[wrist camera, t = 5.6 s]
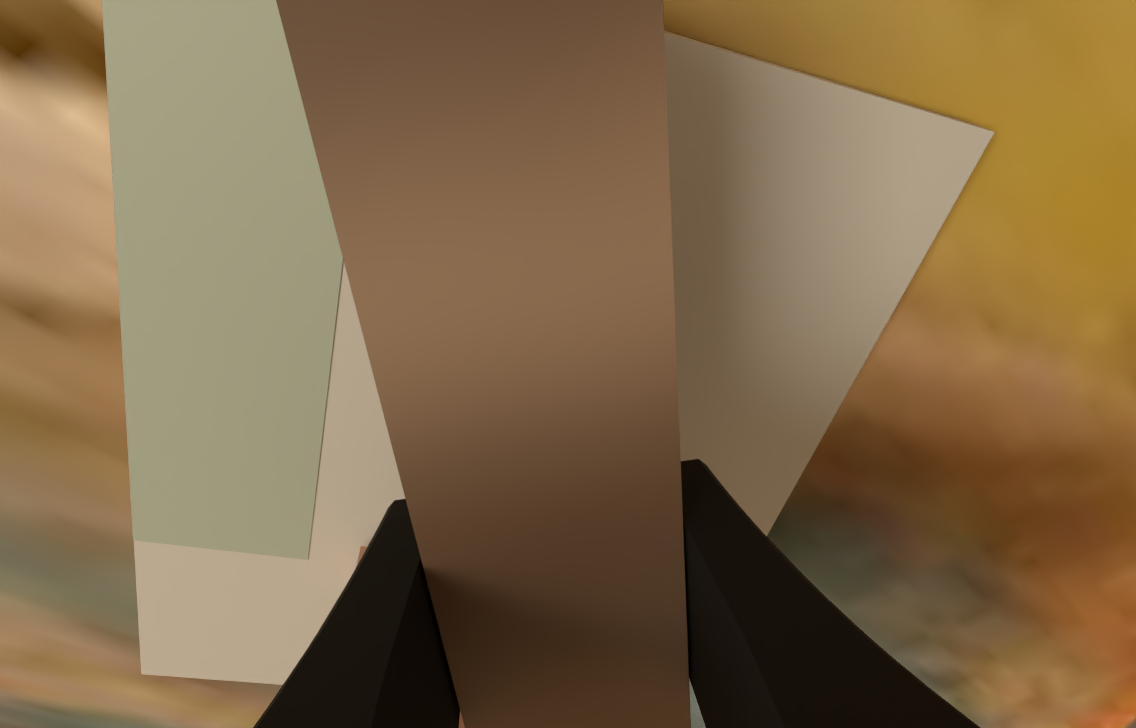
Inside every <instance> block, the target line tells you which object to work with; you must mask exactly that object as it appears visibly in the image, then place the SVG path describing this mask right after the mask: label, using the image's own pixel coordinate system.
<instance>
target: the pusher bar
mask: <svg viewBox="0 0 1136 728" xmlns="http://www.w3.org/2000/svg"><path fill="white" fill-rule="evenodd" d="M276 2H277V6H278V10H279V14H280V18H281V22H282V25H283V29H284V33H285V37H286V41H287V45H288V49H289V52H290V56H291V60H292V64H293V68H294V72H295V76H296V79H297V83H298V87H299V91H300V95H301V99H302V102H303V106H304V110H305V114H306V118H307V122H308V126H309V129H310V133H311V137H312V141H313V145H314V149H315V153H316V156H317V160H318V164H319V168H320V172H321V176H322V179H323V183H324V187H325V191H326V195H327V199H328V203H329V206H330V210H331V214H332V218H333V222H334V226H335V230H336V233H337V237H338V241H339V245H340V249H341V253H342V256H343V260H344V264H345V268H346V272H347V276H348V280H349V283H350V287H351V291H352V295H353V299H354V303H355V307H356V310H357V314H358V318H359V322H360V326H361V330H362V333H363V337H364V341H365V345H366V349H367V353H368V357H369V360H370V364H371V368H372V372H373V376H374V380H375V384H376V387H377V391H378V395H379V399H380V403H381V407H382V410H383V414H384V418H385V422H386V426H387V430H388V434H389V437H390V441H391V445H392V449H393V453H394V457H395V461H396V464H397V468H398V472H399V476H400V480H401V484H402V487H403V491H404V495H405V499H406V503H407V507H408V511H409V514H410V518H411V522H412V526H413V530H414V534H415V538H416V541H417V545H418V549H419V553H420V557H421V561H422V564H423V568H424V572H425V576H426V580H427V584H428V588H429V591H430V595H431V599H432V603H433V607H434V611H435V615H436V618H437V622H438V626H439V630H440V634H441V638H442V641H443V645H444V649H445V653H446V657H447V661H448V665H449V668H450V672H451V676H452V680H453V684H454V688H455V692H456V695H457V699H458V703H459V707H460V711H461V715H462V718H463V722H464V726H465V728H691V719H690V692H689V666H688V640H687V614H686V588H685V562H684V536H683V510H682V483H681V457H680V431H679V405H678V379H677V353H676V327H675V301H674V275H673V248H672V222H671V196H670V170H669V144H668V118H667V92H666V66H665V39H664V13H663V0H276Z"/></svg>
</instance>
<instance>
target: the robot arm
mask: <svg viewBox="0 0 1136 728" xmlns="http://www.w3.org/2000/svg"><path fill="white" fill-rule="evenodd" d="M681 483H682V510H683V536H684V562H685V588H686V614H687V640H688V666H689V678H690V681H691V684H692V687H693V690H694V693H695V696H696V699H697V702H698V705H699V708H700V711H701V714H702V717H703V720H704V723H705V726H706V728H980V727H979V726H978V725H976V724H975V723H974V722H972V721H971V720H970V719H968V718H967V717H966V716H965V715H963V714H962V713H961V712H959V711H958V710H957V709H956V708H954V707H953V706H952V705H950V704H949V703H948V702H947V701H945V700H944V699H943V698H941V697H940V696H939V695H938V694H936V693H935V692H934V691H933V690H931V689H930V688H929V687H928V686H926V685H925V684H924V683H923V682H921V681H920V680H919V679H918V678H917V677H915V676H914V675H913V674H912V673H911V672H909V671H908V670H907V669H906V668H905V667H903V666H902V665H901V664H900V663H898V662H897V661H896V660H895V659H894V658H892V657H891V656H890V655H889V654H888V653H887V652H886V651H884V650H883V649H882V648H881V647H880V646H879V645H877V644H876V643H875V642H874V641H873V640H872V639H871V638H870V637H868V636H867V635H866V634H865V633H864V632H863V631H862V630H861V629H859V628H858V627H857V626H856V625H855V624H854V623H853V622H852V621H851V620H850V619H849V618H848V617H847V616H845V615H844V614H843V613H842V612H841V611H840V610H839V609H838V608H837V607H836V606H835V605H834V604H833V603H832V602H830V601H829V600H828V599H827V598H826V597H825V596H824V595H823V594H822V593H821V592H820V591H819V590H818V589H817V588H816V587H815V586H814V585H813V584H812V583H811V582H810V581H809V580H808V579H807V578H806V577H805V576H804V575H803V574H802V573H801V572H800V571H799V570H798V569H797V568H796V567H795V566H794V565H793V564H792V563H791V562H790V561H789V559H788V558H787V557H786V556H785V555H784V554H783V553H782V552H781V551H780V550H779V549H778V548H777V547H776V546H775V545H774V544H773V543H772V542H771V541H770V540H769V538H768V537H767V536H766V535H765V534H764V533H763V532H762V531H761V530H760V529H759V528H758V526H757V525H756V524H755V523H754V522H753V521H752V520H751V518H750V517H749V516H748V515H747V514H746V513H745V512H744V510H743V509H742V508H741V507H740V506H739V505H738V503H737V502H736V501H735V500H734V499H733V498H732V496H731V495H730V494H729V493H728V492H727V490H726V489H725V488H724V487H723V485H722V484H721V483H720V482H719V480H718V479H717V478H716V477H715V475H714V474H713V473H712V471H711V470H710V469H709V468H708V466H707V465H706V464H705V463H704V462H702V461H701V460H700V459H693V460H686V461H681ZM459 719H460V707H459V703H458V699H457V695H456V692H455V688H454V684H453V680H452V676H451V672H450V668H449V665H448V661H447V657H446V653H445V649H444V645H443V641H442V638H441V634H440V630H439V626H438V622H437V618H436V615H435V611H434V607H433V603H432V599H431V595H430V591H429V588H428V584H427V580H426V576H425V572H424V568H423V564H422V561H421V557H420V553H419V549H418V545H417V541H416V538H415V534H414V530H413V526H412V522H411V518H410V514H409V511H408V507H407V503H406V499H400V500H394V501H393V502H392V504H391V505H390V506H389V507H388V509H387V511H386V513H385V515H384V517H383V519H382V520H381V522H380V524H379V526H378V528H377V530H376V532H375V534H374V536H373V538H372V540H371V541H370V543H369V545H368V547H367V549H366V551H365V552H364V554H363V556H362V558H361V560H360V561H359V563H358V565H357V567H356V569H355V570H354V572H353V574H352V576H351V577H350V579H349V581H348V583H347V585H346V586H345V588H344V590H343V591H342V593H341V595H340V596H339V598H338V599H337V601H336V603H335V604H334V606H333V608H332V609H331V611H330V613H329V614H328V616H327V618H326V619H325V621H324V623H323V624H322V626H321V628H320V629H319V631H318V633H317V634H316V636H315V637H314V639H313V641H312V642H311V644H310V645H309V647H308V648H307V650H306V651H305V653H304V654H303V656H302V657H301V659H300V660H299V662H298V663H297V665H296V666H295V668H294V669H293V671H292V672H291V674H290V675H289V677H288V678H287V680H286V681H285V683H284V684H283V686H282V687H281V689H280V690H279V692H278V693H277V695H276V696H275V698H274V699H273V701H272V702H271V703H270V705H269V706H268V708H267V709H266V711H265V712H264V713H263V715H262V716H261V717H260V719H259V720H258V722H257V723H256V724H255V726H254V727H253V728H459Z"/></svg>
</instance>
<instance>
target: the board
mask: <svg viewBox="0 0 1136 728" xmlns="http://www.w3.org/2000/svg"><path fill="white" fill-rule="evenodd" d="M102 8H103V26H104V43H105V60H106V78H107V95H108V112H109V130H110V147H111V164H112V182H113V199H114V216H115V234H116V251H117V268H118V286H119V303H120V320H121V338H122V355H123V372H124V390H125V407H126V425H127V442H128V459H129V477H130V494H131V511H132V529H133V540H134V552H135V569H136V587H137V604H138V622H139V640H140V657H141V674H147V675H160V676H174V677H187V678H200V679H214V680H227V681H240V682H254V683H267V684H280V685H283V684H284V683H285V681H286V680H287V678H288V677H289V675H290V674H291V672H292V671H293V669H294V668H295V666H296V665H297V663H298V662H299V660H300V659H301V657H302V656H303V654H304V653H305V651H306V650H307V648H308V647H309V645H310V644H311V642H312V641H313V639H314V637H315V636H316V634H317V633H318V631H319V629H320V628H321V626H322V624H323V623H324V621H325V619H326V618H327V616H328V614H329V613H330V611H331V609H332V608H333V606H334V604H335V603H336V601H337V599H338V598H339V596H340V595H341V593H342V591H343V590H344V588H345V586H346V585H347V583H348V581H349V579H350V577H351V576H352V574H353V572H354V570H355V569H356V566H357V561H358V557H359V552H360V547H361V546H367V547H368V545H369V543H370V541H371V540H372V538H373V536H374V534H375V532H376V530H377V528H378V526H379V524H380V522H381V520H382V519H383V517H384V515H385V513H386V511H387V509H388V507H389V506H390V505H391V504H392V502H393V501H394V500H400V499H405V495H404V491H403V487H402V484H401V480H400V476H399V472H398V468H397V464H396V461H395V457H394V453H393V449H392V445H391V441H390V437H389V434H388V430H387V426H386V422H385V418H384V414H383V410H382V407H381V403H380V399H379V395H378V391H377V387H376V384H375V380H374V376H373V372H372V368H371V364H370V360H369V357H368V353H367V349H366V345H365V341H364V337H363V333H362V330H361V326H360V322H359V318H358V314H357V310H356V307H355V303H354V299H353V295H352V291H351V287H350V283H349V280H348V276H347V272H346V268H345V264H344V260H343V256H342V253H341V249H340V245H339V241H338V237H337V233H336V230H335V226H334V222H333V218H332V214H331V210H330V206H329V203H328V199H327V195H326V191H325V187H324V183H323V179H322V176H321V172H320V168H319V164H318V160H317V156H316V153H315V149H314V145H313V141H312V137H311V133H310V129H309V126H308V122H307V118H306V114H305V110H304V106H303V102H302V99H301V95H300V91H299V87H298V83H297V79H296V76H295V72H294V68H293V64H292V60H291V56H290V52H289V49H288V45H287V41H286V37H285V33H284V29H283V25H282V22H281V18H280V14H279V10H278V6H277V2H276V0H102ZM664 39H665V66H666V92H667V118H668V144H669V170H670V196H671V222H672V248H673V275H674V301H675V327H676V353H677V379H678V405H679V431H680V457H681V461H686V460H693V459H700V460H701V461H702V462H704V463H705V464H706V465H707V466H708V468H709V469H710V470H711V471H712V473H713V474H714V475H715V477H716V478H717V479H718V480H719V482H720V483H721V484H722V485H723V487H724V488H725V489H726V490H727V492H728V493H729V494H730V495H731V496H732V498H733V499H734V500H735V501H736V502H737V503H738V505H739V506H740V507H741V508H742V509H743V510H744V512H745V513H746V514H747V515H748V516H749V517H750V518H751V520H752V521H753V522H754V523H755V524H756V525H757V526H758V528H759V529H760V530H761V531H762V532H763V533H764V534H765V535H766V536H767V535H768V533H769V531H770V530H771V528H772V526H773V524H774V522H775V521H776V519H777V517H778V515H779V514H780V512H781V510H782V508H783V506H784V505H785V503H786V501H787V499H788V498H789V496H790V494H791V492H792V491H793V489H794V487H795V485H796V483H797V482H798V480H799V478H800V476H801V475H802V473H803V471H804V469H805V467H806V466H807V464H808V462H809V460H810V459H811V457H812V455H813V453H814V451H815V450H816V448H817V446H818V444H819V443H820V441H821V439H822V437H823V436H824V434H825V432H826V430H827V428H828V427H829V425H830V423H831V421H832V420H833V418H834V416H835V414H836V412H837V411H838V409H839V407H840V405H841V404H842V402H843V400H844V398H845V397H846V395H847V393H848V391H849V389H850V388H851V386H852V384H853V382H854V381H855V379H856V377H857V375H858V373H859V372H860V370H861V368H862V366H863V365H864V363H865V361H866V359H867V358H868V356H869V354H870V352H871V350H872V349H873V347H874V345H875V343H876V342H877V340H878V338H879V336H880V334H881V333H882V331H883V329H884V327H885V326H886V324H887V322H888V320H889V318H890V317H891V315H892V313H893V311H894V310H895V308H896V306H897V304H898V303H899V301H900V299H901V297H902V295H903V294H904V292H905V290H906V288H907V287H908V285H909V283H910V281H911V279H912V278H913V276H914V274H915V272H916V271H917V269H918V267H919V265H920V264H921V262H922V260H923V258H924V256H925V255H926V253H927V251H928V249H929V248H930V246H931V244H932V242H933V240H934V239H935V237H936V235H937V233H938V232H939V230H940V228H941V226H942V225H943V223H944V221H945V219H946V217H947V216H948V214H949V212H950V210H951V209H952V207H953V205H954V203H955V201H956V200H957V198H958V196H959V194H960V193H961V191H962V189H963V187H964V185H965V184H966V182H967V180H968V178H969V177H970V175H971V173H972V171H973V170H974V168H975V166H976V164H977V162H978V161H979V159H980V157H981V155H982V154H983V152H984V150H985V148H986V146H987V145H988V143H989V141H990V139H991V138H992V136H993V134H994V132H993V131H991V130H988V129H985V128H983V127H980V126H978V125H975V124H972V123H969V122H966V121H962V120H959V119H956V118H952V117H949V116H946V115H943V114H939V113H936V112H933V111H929V110H926V109H923V108H919V107H916V106H913V105H909V104H906V103H903V102H899V101H896V100H893V99H890V98H886V97H883V96H880V95H876V94H873V93H870V92H866V91H863V90H860V89H856V88H853V87H850V86H846V85H843V84H840V83H836V82H833V81H830V80H827V79H823V78H820V77H817V76H813V75H810V74H807V73H803V72H800V71H797V70H793V69H790V68H787V67H783V66H780V65H777V64H773V63H770V62H767V61H764V60H760V59H757V58H754V57H750V56H747V55H744V54H740V53H737V52H734V51H730V50H727V49H724V48H720V47H717V46H714V45H710V44H707V43H704V42H701V41H697V40H694V39H691V38H687V37H684V36H681V35H677V34H674V33H671V32H667V31H664Z"/></svg>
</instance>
